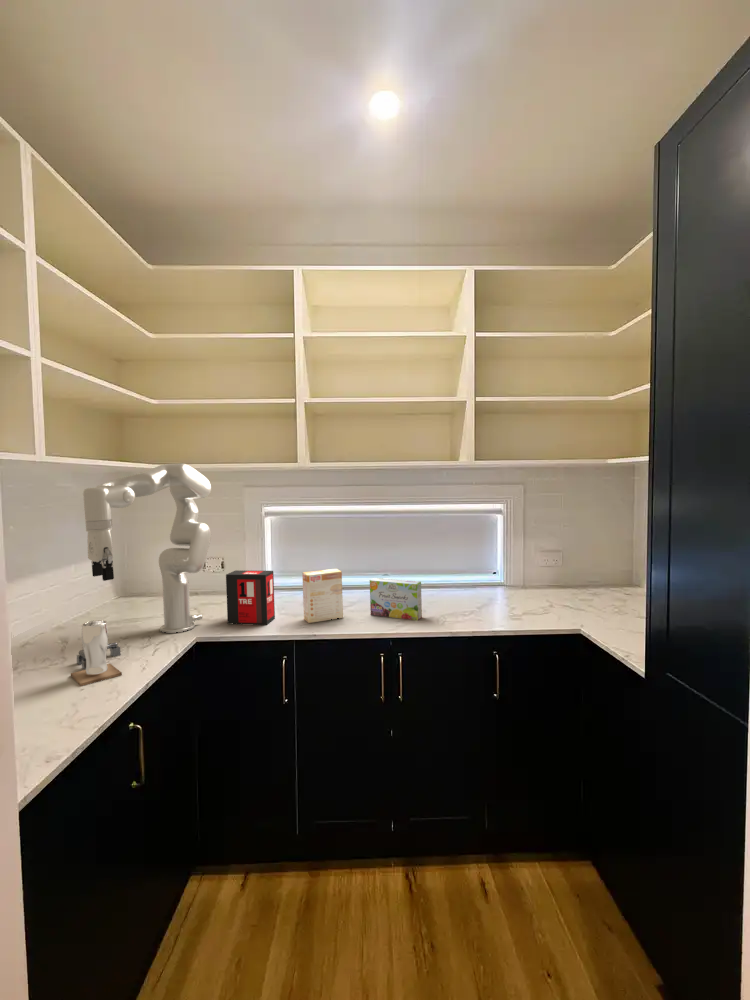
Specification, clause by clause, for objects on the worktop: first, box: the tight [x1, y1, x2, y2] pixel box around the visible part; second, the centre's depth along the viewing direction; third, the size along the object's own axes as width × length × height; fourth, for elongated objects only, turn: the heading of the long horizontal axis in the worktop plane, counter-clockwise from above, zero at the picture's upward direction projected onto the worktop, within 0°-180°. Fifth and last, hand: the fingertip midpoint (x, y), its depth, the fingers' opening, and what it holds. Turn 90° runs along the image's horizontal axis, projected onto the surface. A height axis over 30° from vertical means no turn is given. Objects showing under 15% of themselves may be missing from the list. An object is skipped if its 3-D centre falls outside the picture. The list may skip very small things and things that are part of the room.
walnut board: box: [70, 663, 123, 687], centre depth 154 cm, size 11×11×1 cm
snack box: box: [369, 577, 423, 621], centre depth 210 cm, size 21×6×15 cm, turn 65°
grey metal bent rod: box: [76, 642, 121, 670], centre depth 166 cm, size 12×8×4 cm
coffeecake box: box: [301, 568, 344, 624], centre depth 209 cm, size 15×7×20 cm, turn 115°
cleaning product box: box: [225, 569, 276, 626], centre depth 208 cm, size 16×9×20 cm, turn 81°
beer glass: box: [81, 619, 109, 676], centre depth 154 cm, size 7×7×15 cm
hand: (103, 577), depth 167 cm, fingers open, 9 cm apart
